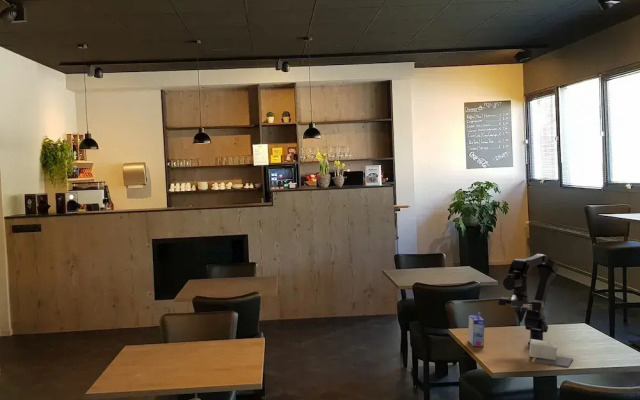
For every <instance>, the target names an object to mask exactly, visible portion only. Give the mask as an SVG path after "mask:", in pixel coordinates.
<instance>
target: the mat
mask: <svg viewBox="0 0 640 400" xmlns="http://www.w3.org/2000/svg"><path fill="white" fill-rule="evenodd" d="M573 361H574V358H572V357H564V356H559V355H556V361H555V360H549V359H543V358H537V357H532V359H531V363H536V364H540V365H541V364H543V365H549V366H556V367H562V368H569V367H570V365H571V364H572V362H573Z"/></svg>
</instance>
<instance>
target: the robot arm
mask: <svg viewBox="0 0 640 400" xmlns="http://www.w3.org/2000/svg"><path fill="white" fill-rule="evenodd" d="M534 267H535V268H536V269H537V276H538V278H539V279H538V282H537V283H538V284H537V288H536V292H535V295H534V299H533V301H529V296H528V292H529V290H528V285H529V284H528V283H529V282H528V280H529V279H528V277H529V278H530V277H531V275H530V274H529V272H531V271H532V268H534ZM558 270H559V267H558V265H557V263H556V262H555V261H554V260H552V259H551V258H550V257H549V256H548V255H547V254H543V253H536V254H535V255H532V256H530V257H526V258H515V259H513V260H512V261H511V264H510V266H509V269H508V272H507V275H506V277H505V278H504V279H503V281H502V285H503V288H504V289H505V290H508V291H513V294H512V296H511V298H510V297H507V296H501V297H500V298H498V299H497V305H498V306H506V305H507V304H508V305H511V306H510V308H511V309H513V310H514V311H515V314H516V316H517V319H518V322H519V323H522V322H524V326H525V330H528V331H529V341H528V342H527V345H530V340H531V339H535V340H541V341H544V333H548V331H549V325H548V324H547V322H546V316H545V313H544V309H545V305H546V300H547V296H548V293H549V289H550V284H551V282H552V281H553V280H554V279H555V278H556V276H557V273H558V272H559V271H558ZM523 320H524V321H523Z"/></svg>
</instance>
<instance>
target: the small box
mask: <svg viewBox="0 0 640 400" xmlns="http://www.w3.org/2000/svg"><path fill="white" fill-rule="evenodd" d="M529 341H530V344H529V357H531V358H533V357H537V358H543V359H549V360H555V361H556V356H557V353H558V351H557V349H558V346H557V342H553V341H548V340H547V341H546V340H543V341H541V340H535V339H531V340H530V339H529Z"/></svg>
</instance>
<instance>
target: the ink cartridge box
mask: <svg viewBox="0 0 640 400" xmlns="http://www.w3.org/2000/svg"><path fill="white" fill-rule="evenodd" d="M481 314H482V313H481V312H480V311H478V312H477V314H476V315H468V333H467V335H468V336H467V338H468V339H467V341H468V342H469V343H470V345H471V346H472V347H484V346H485V319H483V318H482V316H481Z"/></svg>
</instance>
